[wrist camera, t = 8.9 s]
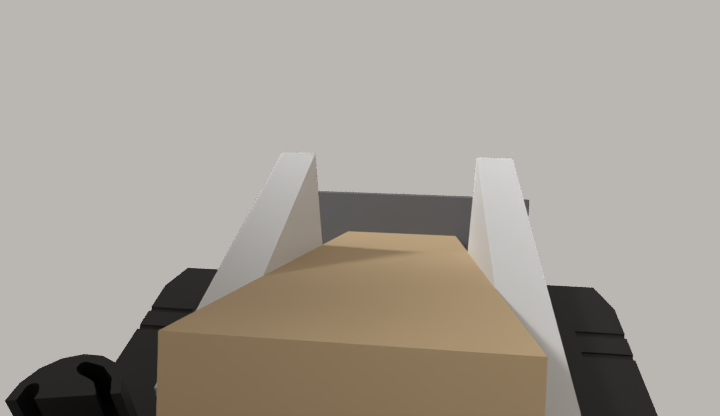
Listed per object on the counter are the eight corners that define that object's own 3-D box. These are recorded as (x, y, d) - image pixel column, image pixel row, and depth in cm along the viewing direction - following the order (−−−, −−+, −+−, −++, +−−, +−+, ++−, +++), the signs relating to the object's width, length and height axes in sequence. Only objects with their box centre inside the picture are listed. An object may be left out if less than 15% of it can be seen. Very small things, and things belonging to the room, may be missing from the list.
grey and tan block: (-68, 785, 5) (-61, 188, 5) (321, 315, 26) (325, 191, 26) (798, 938, 5) (846, 221, 4) (489, 325, 25) (495, 197, 25)
